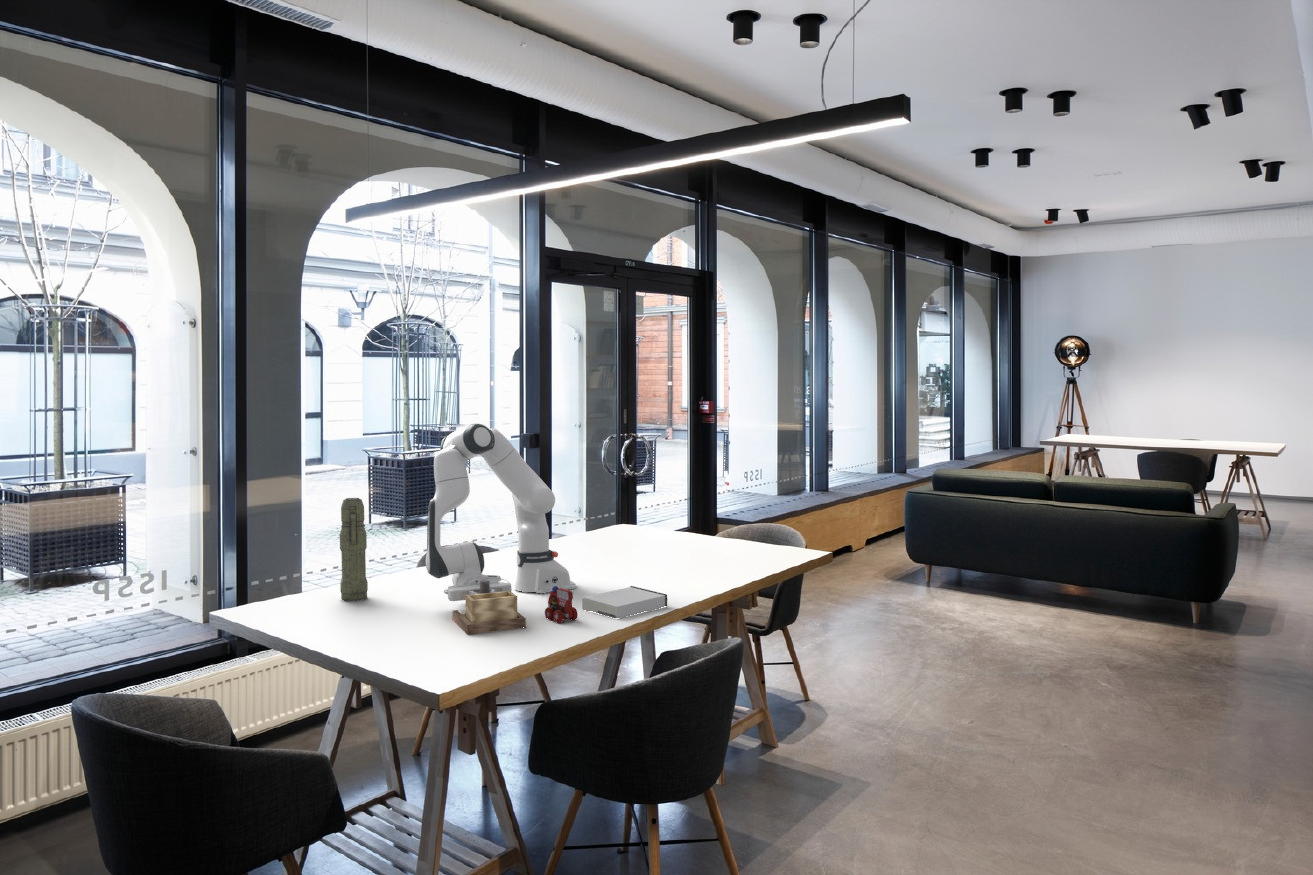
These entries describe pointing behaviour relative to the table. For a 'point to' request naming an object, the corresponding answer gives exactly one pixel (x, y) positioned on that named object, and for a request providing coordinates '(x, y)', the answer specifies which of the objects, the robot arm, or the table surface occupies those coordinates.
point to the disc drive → (624, 602)
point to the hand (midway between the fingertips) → (485, 596)
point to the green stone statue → (353, 551)
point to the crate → (490, 605)
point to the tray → (487, 624)
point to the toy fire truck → (560, 605)
